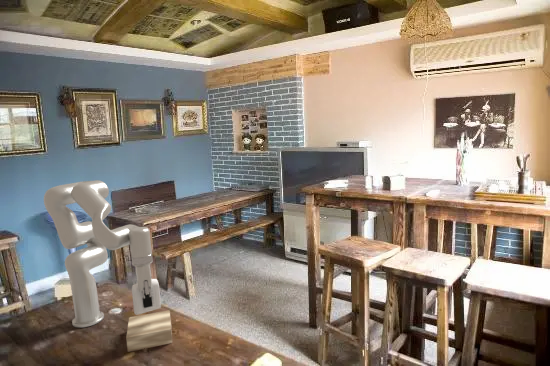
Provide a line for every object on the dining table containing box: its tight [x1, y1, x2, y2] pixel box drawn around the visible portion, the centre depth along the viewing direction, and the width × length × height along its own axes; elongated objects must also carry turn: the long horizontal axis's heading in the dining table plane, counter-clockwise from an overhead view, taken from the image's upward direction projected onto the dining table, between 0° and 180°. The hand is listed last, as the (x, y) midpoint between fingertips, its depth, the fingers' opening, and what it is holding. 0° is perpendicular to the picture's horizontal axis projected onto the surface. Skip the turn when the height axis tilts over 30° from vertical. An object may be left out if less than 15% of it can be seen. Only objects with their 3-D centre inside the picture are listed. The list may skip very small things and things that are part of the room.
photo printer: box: [131, 278, 162, 316], centre depth 149 cm, size 10×4×12 cm, turn 123°
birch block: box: [125, 309, 173, 353], centre depth 151 cm, size 16×16×6 cm
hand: (147, 303), depth 149 cm, fingers closed on photo printer, 4 cm apart
